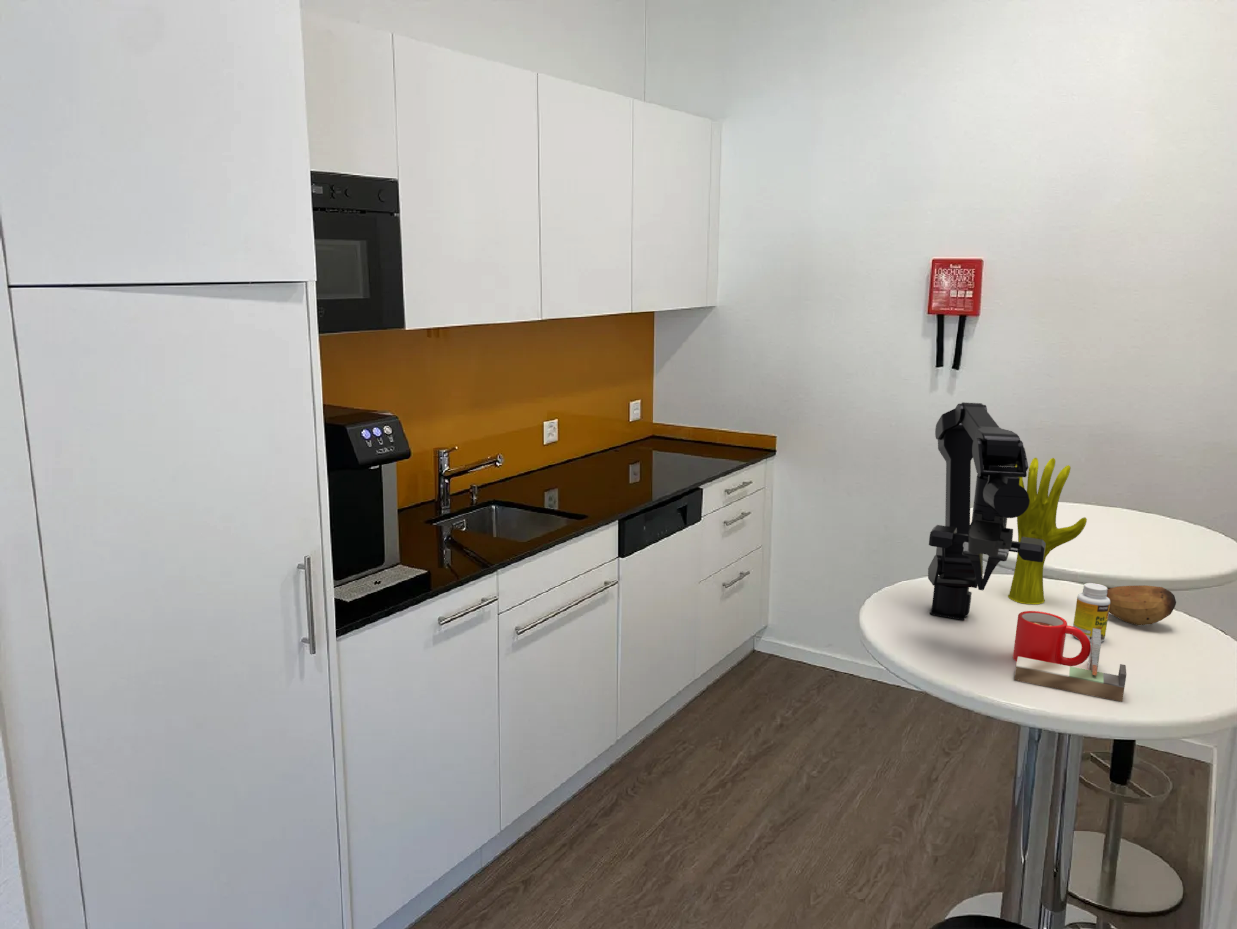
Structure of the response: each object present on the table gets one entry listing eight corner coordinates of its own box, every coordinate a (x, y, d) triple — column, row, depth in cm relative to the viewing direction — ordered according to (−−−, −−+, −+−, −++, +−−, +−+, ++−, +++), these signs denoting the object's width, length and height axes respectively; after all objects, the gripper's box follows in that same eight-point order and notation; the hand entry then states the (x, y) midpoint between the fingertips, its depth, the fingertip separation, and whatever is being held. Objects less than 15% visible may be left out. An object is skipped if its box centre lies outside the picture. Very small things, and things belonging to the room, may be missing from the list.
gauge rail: (1014, 680, 158) (1017, 654, 157) (1016, 670, 162) (1019, 645, 161) (1122, 701, 152) (1126, 674, 151) (1121, 691, 156) (1125, 665, 155)
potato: (1101, 633, 190) (1104, 602, 195) (1179, 634, 182) (1180, 602, 188) (1094, 608, 187) (1097, 578, 192) (1173, 609, 179) (1174, 576, 184)
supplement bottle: (1093, 646, 175) (1101, 592, 173) (1065, 636, 179) (1072, 584, 177) (1110, 640, 178) (1118, 588, 176) (1082, 630, 182) (1089, 579, 180)
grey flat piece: (1088, 690, 155) (1093, 655, 154) (1088, 660, 167) (1092, 628, 166) (1096, 692, 154) (1101, 657, 153) (1095, 662, 167) (1100, 629, 165)
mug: (1085, 680, 160) (1092, 635, 158) (1009, 663, 165) (1014, 620, 164) (1089, 664, 166) (1095, 621, 165) (1016, 649, 172) (1021, 607, 171)
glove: (992, 596, 200) (1009, 456, 194) (1005, 587, 207) (1022, 451, 201) (1067, 614, 191) (1087, 468, 185) (1078, 605, 197) (1098, 462, 191)
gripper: (928, 505, 163) (919, 593, 166) (1047, 521, 155) (1035, 612, 158) (937, 493, 173) (929, 576, 176) (1050, 508, 165) (1039, 594, 168)
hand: (981, 589), depth 169 cm, fingers closed
